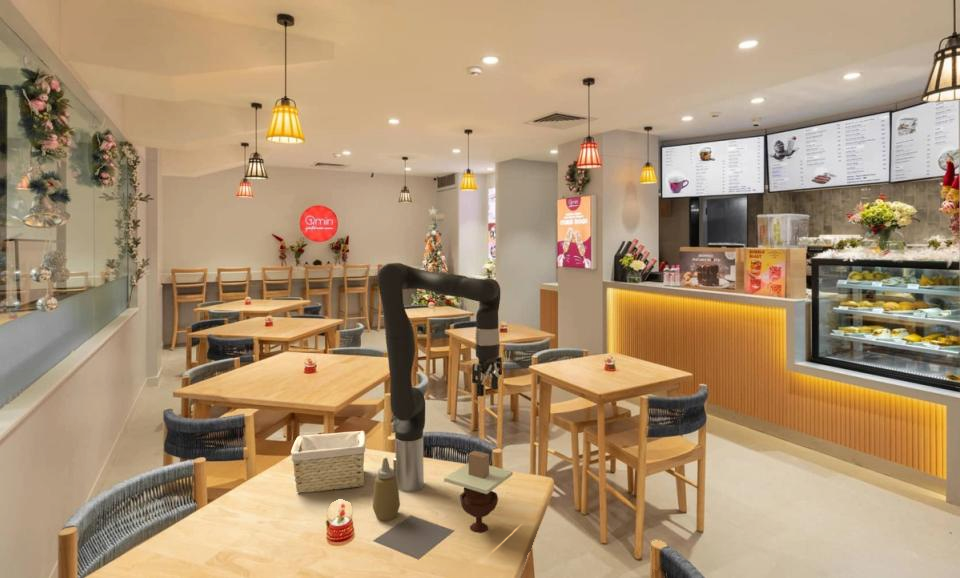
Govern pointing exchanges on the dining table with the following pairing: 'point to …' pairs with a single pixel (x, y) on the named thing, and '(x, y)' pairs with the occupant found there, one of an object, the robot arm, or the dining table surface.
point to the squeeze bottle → (386, 493)
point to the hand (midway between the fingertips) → (487, 392)
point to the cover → (478, 474)
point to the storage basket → (329, 461)
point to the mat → (414, 536)
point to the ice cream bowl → (478, 506)
